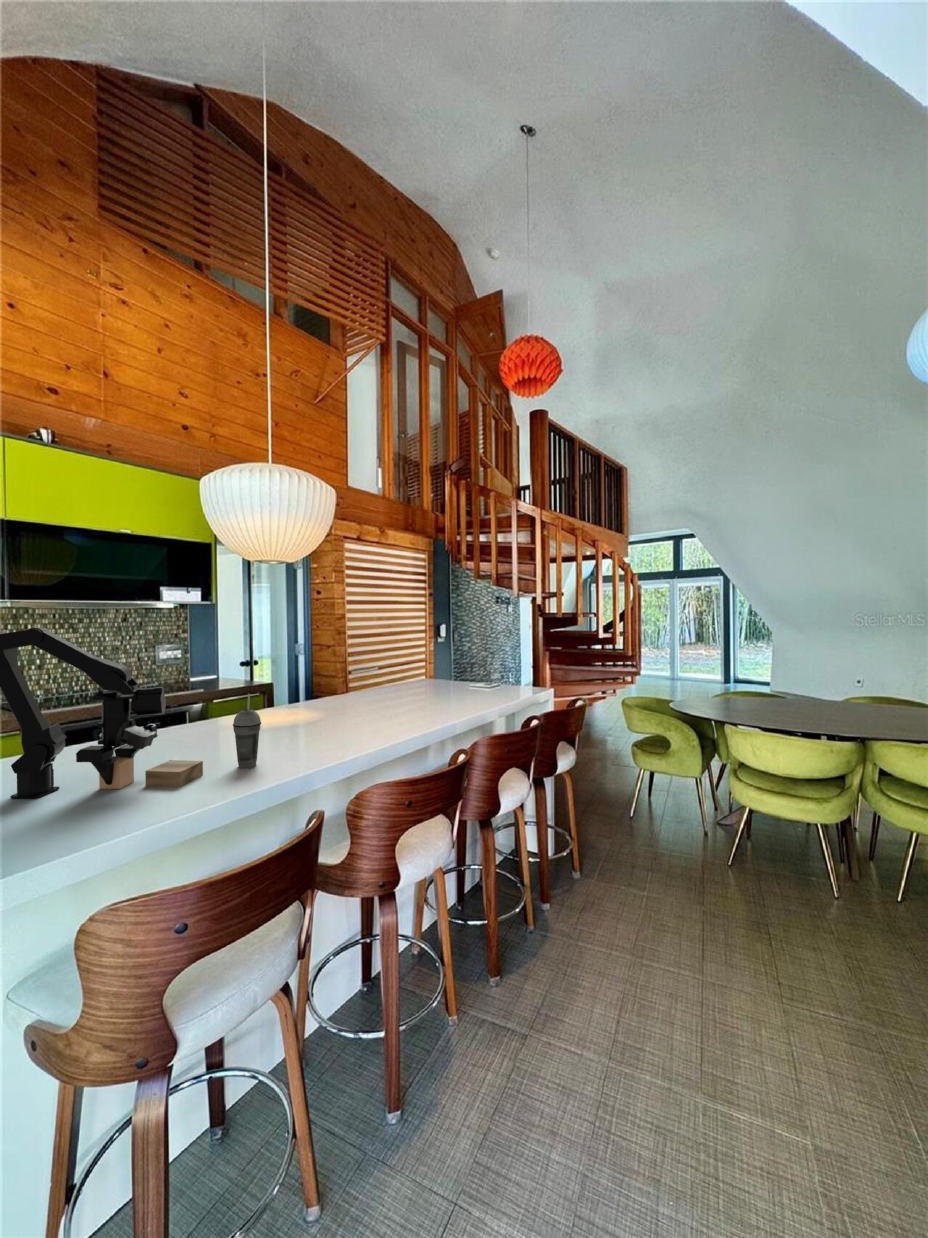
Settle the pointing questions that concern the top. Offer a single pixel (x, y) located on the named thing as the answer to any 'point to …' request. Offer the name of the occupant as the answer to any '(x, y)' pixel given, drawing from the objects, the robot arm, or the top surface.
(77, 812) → the top surface
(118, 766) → the terracotta cube
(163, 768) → the walnut box
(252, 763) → the beverage cup
